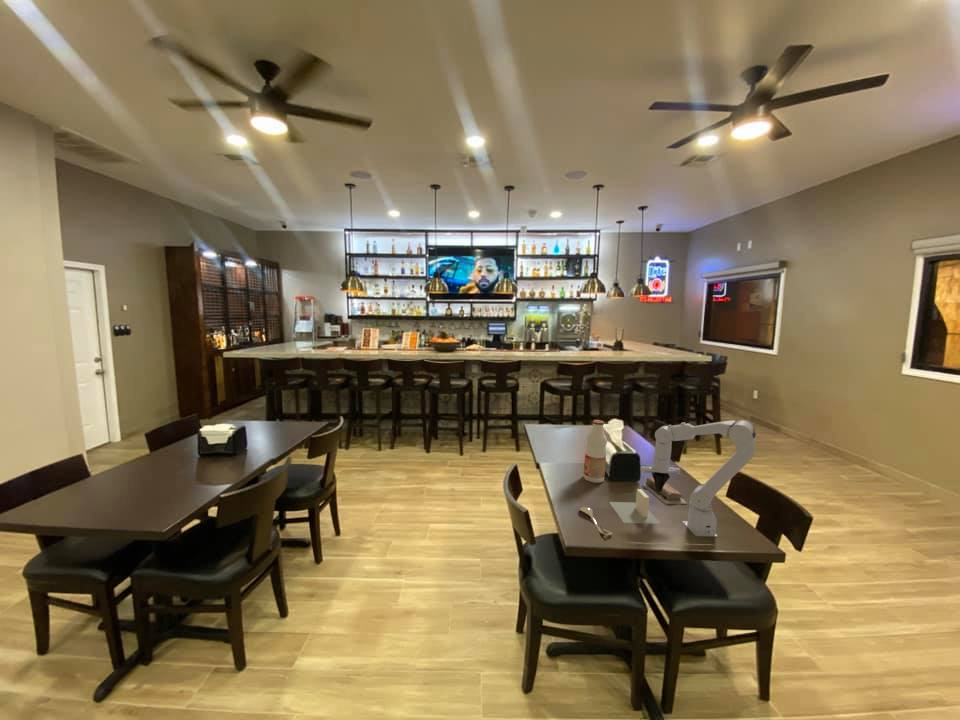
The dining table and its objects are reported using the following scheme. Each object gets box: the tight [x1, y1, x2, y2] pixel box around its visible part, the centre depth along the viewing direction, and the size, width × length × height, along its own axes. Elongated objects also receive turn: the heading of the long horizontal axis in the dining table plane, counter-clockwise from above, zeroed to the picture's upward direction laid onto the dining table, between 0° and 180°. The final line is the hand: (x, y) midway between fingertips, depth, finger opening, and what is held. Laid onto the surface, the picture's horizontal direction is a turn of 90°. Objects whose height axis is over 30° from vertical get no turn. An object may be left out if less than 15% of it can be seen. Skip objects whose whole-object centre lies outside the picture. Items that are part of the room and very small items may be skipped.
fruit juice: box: [582, 419, 608, 484], centre depth 184 cm, size 9×9×28 cm
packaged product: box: [642, 477, 688, 505], centre depth 172 cm, size 18×5×10 cm
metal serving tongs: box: [579, 506, 613, 536], centre depth 146 cm, size 20×4×5 cm
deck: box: [635, 488, 650, 517], centre depth 154 cm, size 7×2×8 cm, turn 2°
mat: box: [608, 501, 662, 525], centre depth 155 cm, size 16×14×1 cm
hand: (658, 490), depth 154 cm, fingers closed
